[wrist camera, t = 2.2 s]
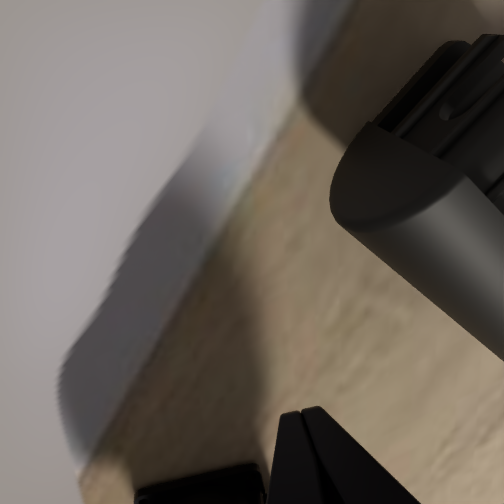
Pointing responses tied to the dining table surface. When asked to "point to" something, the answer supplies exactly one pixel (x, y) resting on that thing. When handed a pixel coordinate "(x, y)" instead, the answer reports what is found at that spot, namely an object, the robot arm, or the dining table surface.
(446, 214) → the end cap
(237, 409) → the dining table surface
